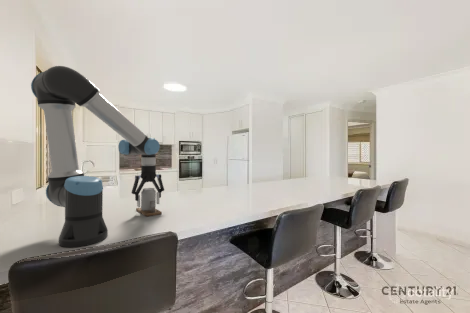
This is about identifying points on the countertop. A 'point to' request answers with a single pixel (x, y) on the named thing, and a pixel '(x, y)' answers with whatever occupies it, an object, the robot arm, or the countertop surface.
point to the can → (147, 198)
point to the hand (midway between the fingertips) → (148, 205)
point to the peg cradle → (152, 210)
